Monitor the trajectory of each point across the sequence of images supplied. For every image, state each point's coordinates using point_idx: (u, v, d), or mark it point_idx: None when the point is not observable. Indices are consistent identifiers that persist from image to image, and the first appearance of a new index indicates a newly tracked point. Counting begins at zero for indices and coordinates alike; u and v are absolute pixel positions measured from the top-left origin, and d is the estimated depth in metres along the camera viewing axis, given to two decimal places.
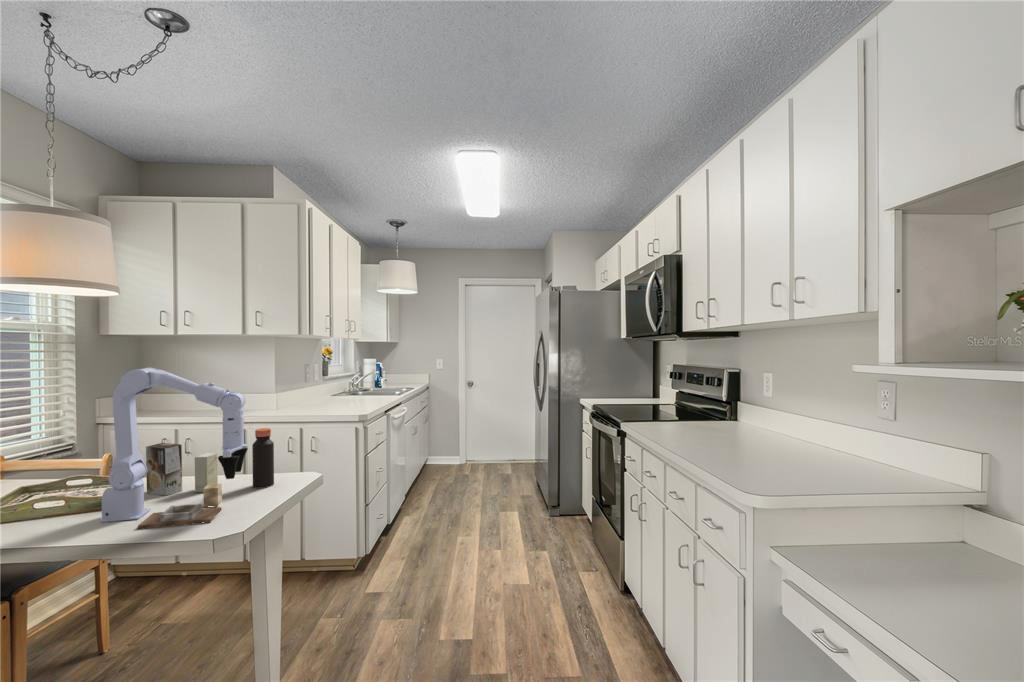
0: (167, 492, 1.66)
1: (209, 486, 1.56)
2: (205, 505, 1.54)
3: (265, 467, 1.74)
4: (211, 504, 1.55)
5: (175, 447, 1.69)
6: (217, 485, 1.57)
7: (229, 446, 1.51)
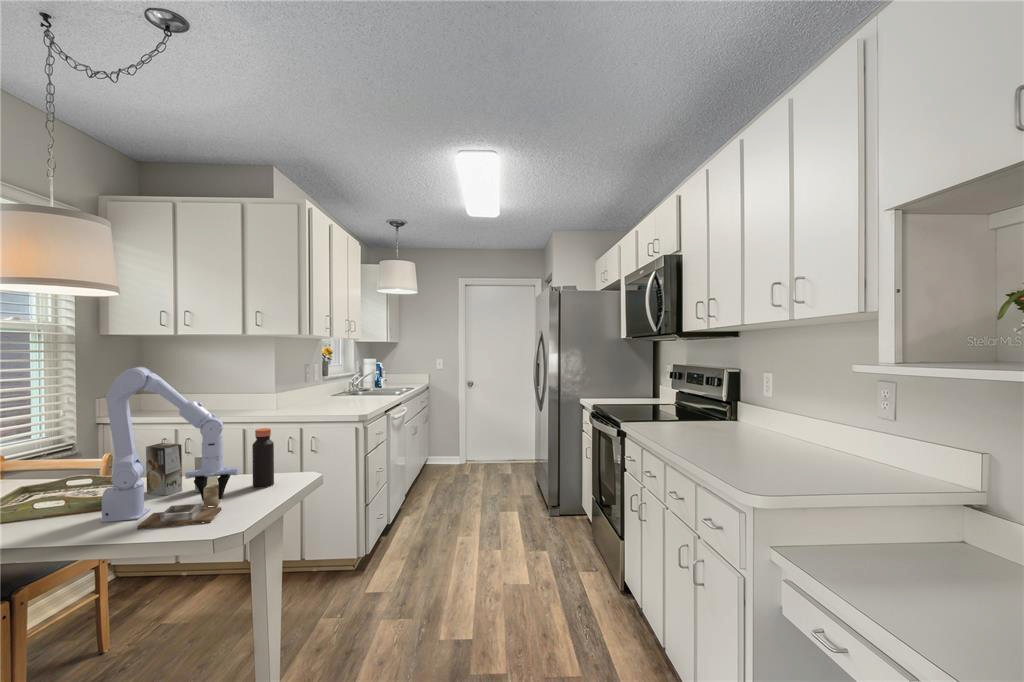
0: (167, 492, 1.66)
1: (209, 486, 1.56)
2: (205, 505, 1.54)
3: (265, 467, 1.74)
4: (211, 504, 1.55)
5: (175, 447, 1.69)
6: (217, 485, 1.57)
7: None
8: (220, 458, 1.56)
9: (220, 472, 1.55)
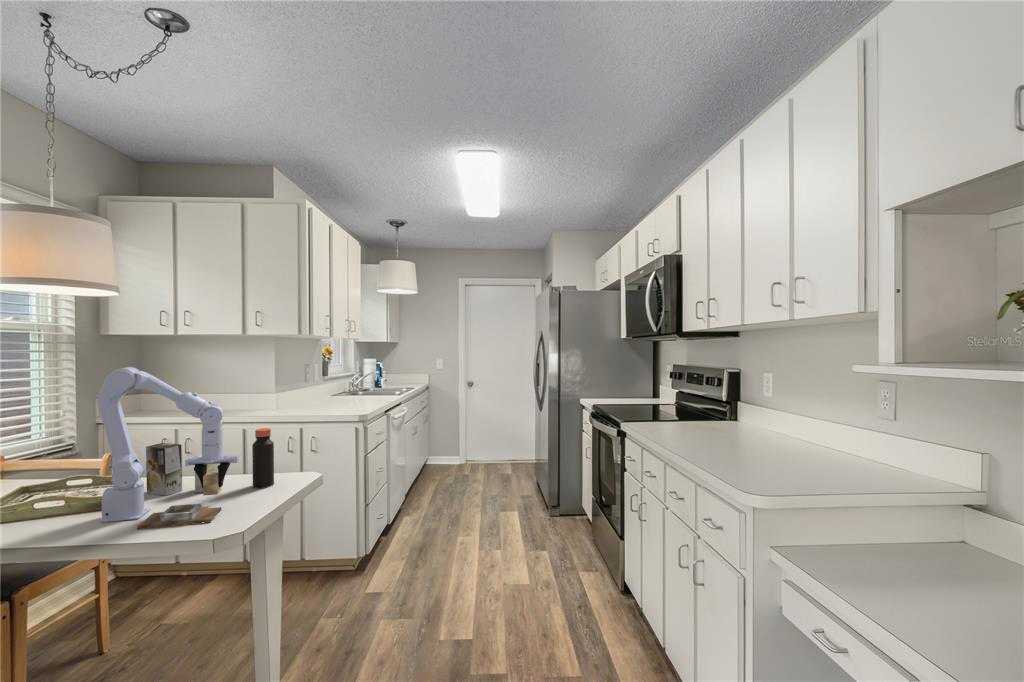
0: (167, 492, 1.66)
1: (209, 474, 1.56)
2: (205, 492, 1.54)
3: (265, 467, 1.74)
4: (211, 491, 1.55)
5: (175, 447, 1.69)
6: (217, 473, 1.57)
7: None
8: (220, 446, 1.56)
9: (220, 460, 1.55)
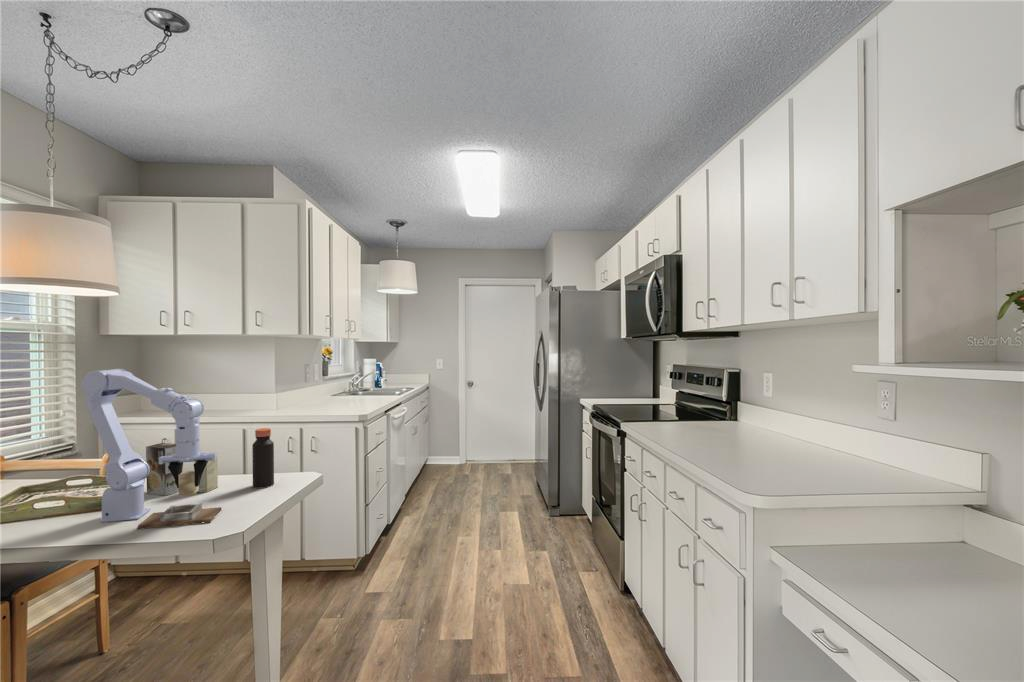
0: (167, 492, 1.66)
1: (185, 473, 1.47)
2: (180, 492, 1.45)
3: (265, 467, 1.74)
4: (187, 491, 1.45)
5: (175, 447, 1.69)
6: (193, 471, 1.48)
7: None
8: (196, 442, 1.47)
9: (196, 457, 1.46)
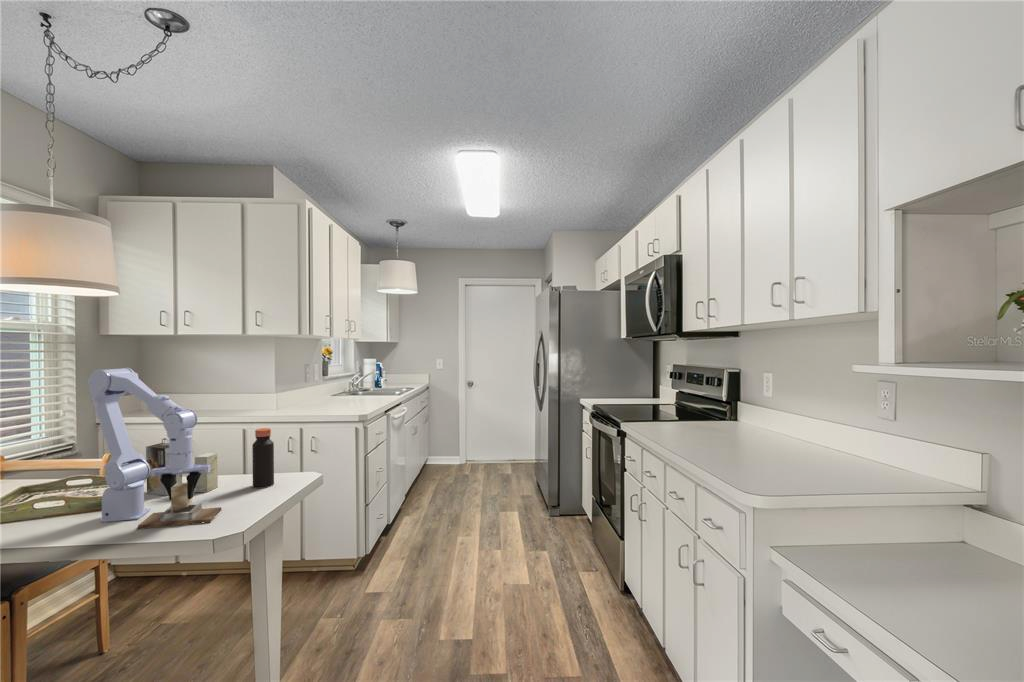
0: (167, 492, 1.66)
1: (178, 485, 1.44)
2: (173, 505, 1.42)
3: (265, 467, 1.74)
4: (180, 504, 1.43)
5: None
6: None
7: None
8: (189, 454, 1.44)
9: (189, 469, 1.43)
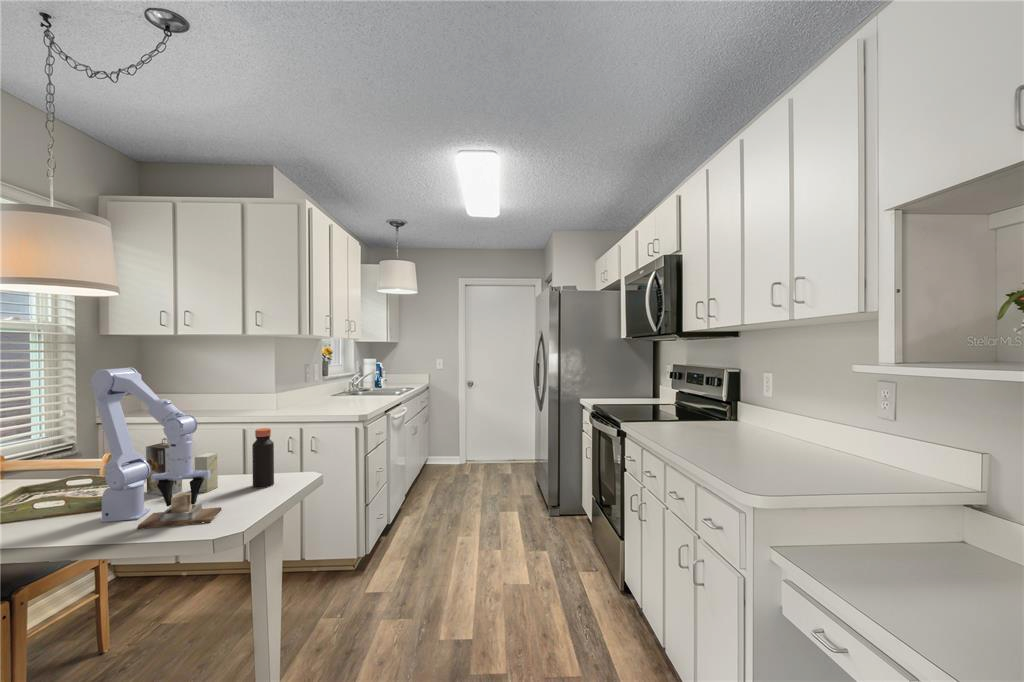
0: None
1: (178, 495, 1.44)
2: None
3: (265, 467, 1.74)
4: None
5: None
6: (187, 494, 1.46)
7: None
8: (189, 460, 1.44)
9: (189, 475, 1.43)
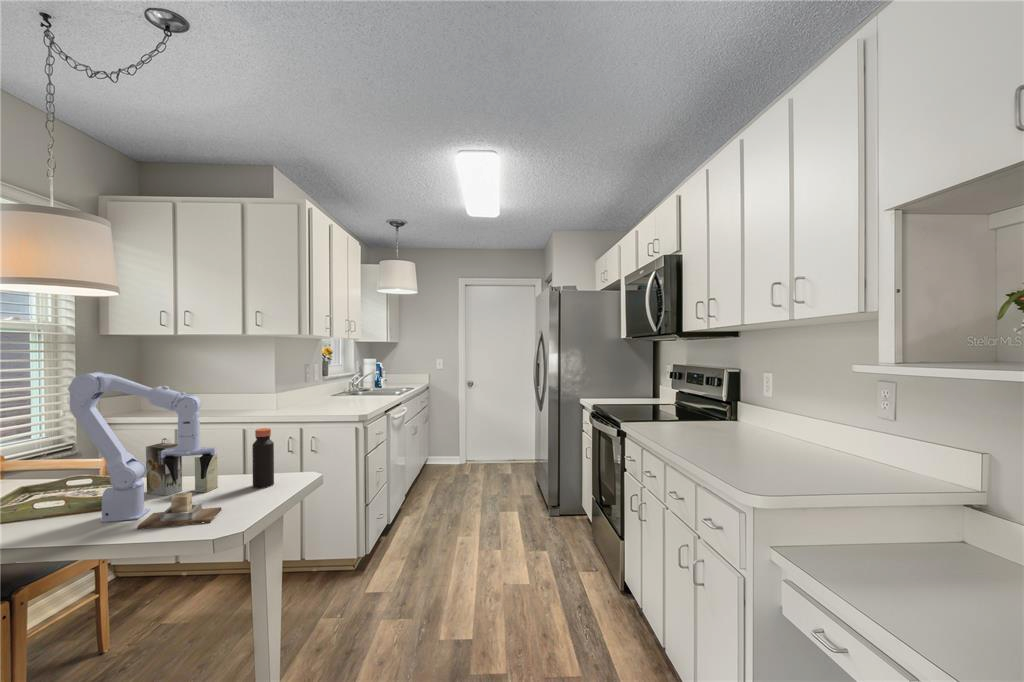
0: (167, 492, 1.66)
1: (178, 495, 1.44)
2: None
3: (265, 467, 1.74)
4: None
5: (175, 447, 1.69)
6: (187, 494, 1.46)
7: None
8: (197, 437, 1.52)
9: (196, 451, 1.51)
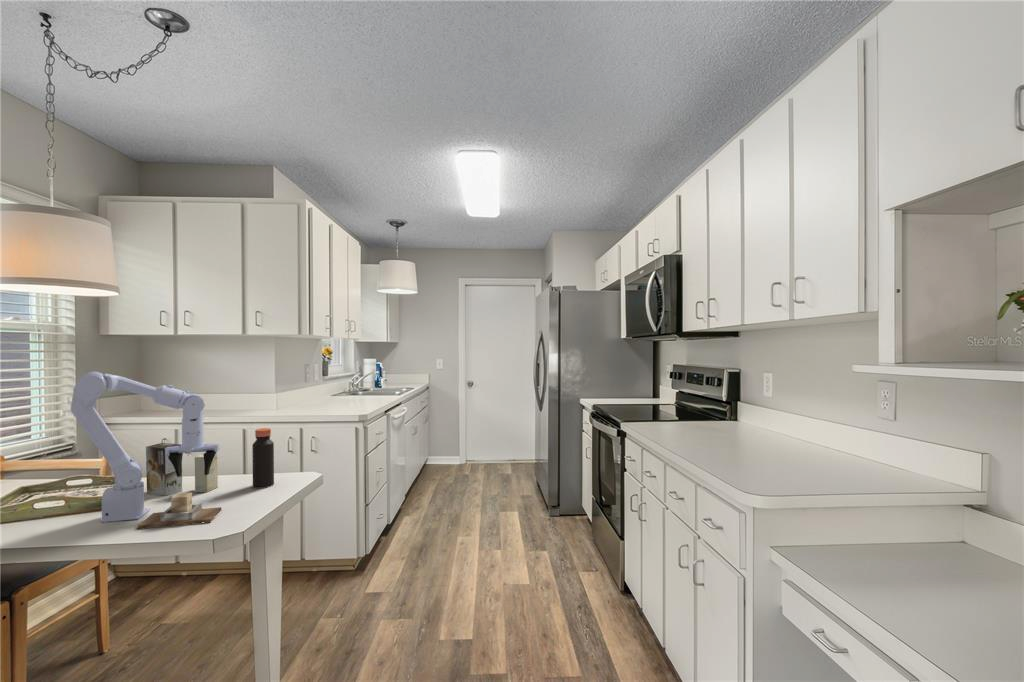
0: (167, 492, 1.66)
1: (178, 495, 1.44)
2: None
3: (265, 467, 1.74)
4: None
5: None
6: (187, 494, 1.46)
7: None
8: (200, 434, 1.56)
9: (200, 448, 1.55)
